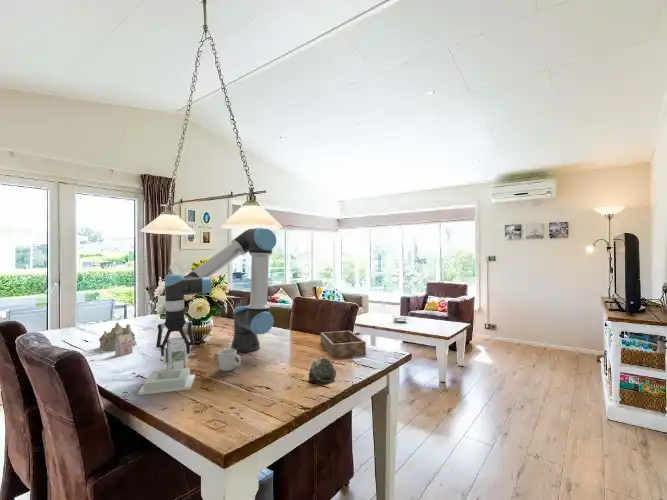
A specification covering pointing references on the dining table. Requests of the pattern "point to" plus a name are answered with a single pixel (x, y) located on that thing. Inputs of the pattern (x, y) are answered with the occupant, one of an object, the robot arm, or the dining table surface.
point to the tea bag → (123, 345)
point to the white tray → (168, 381)
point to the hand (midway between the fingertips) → (175, 362)
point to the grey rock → (115, 337)
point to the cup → (228, 359)
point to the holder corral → (343, 349)
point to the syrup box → (175, 353)
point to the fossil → (322, 371)
